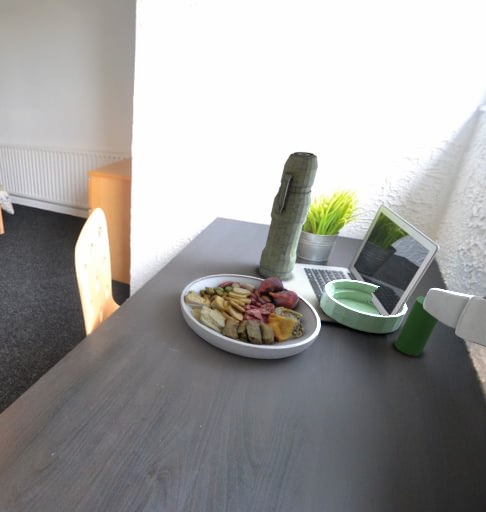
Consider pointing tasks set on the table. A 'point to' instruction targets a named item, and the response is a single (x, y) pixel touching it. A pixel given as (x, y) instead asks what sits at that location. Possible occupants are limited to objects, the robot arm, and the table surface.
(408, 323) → the green cylinder
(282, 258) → the thermos
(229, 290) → the bowl
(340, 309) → the bowl
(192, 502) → the table surface
